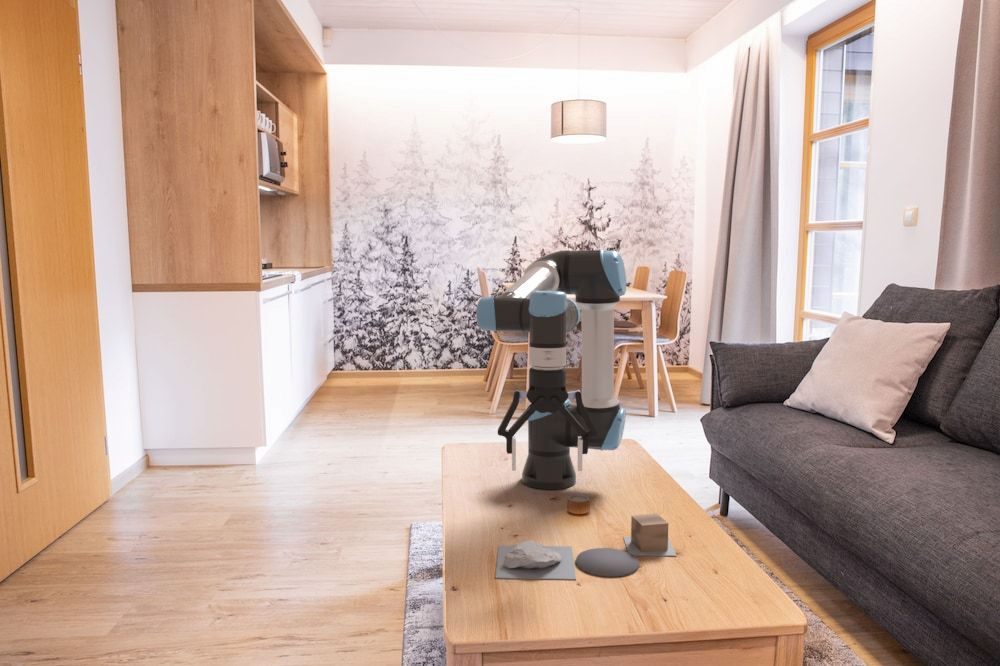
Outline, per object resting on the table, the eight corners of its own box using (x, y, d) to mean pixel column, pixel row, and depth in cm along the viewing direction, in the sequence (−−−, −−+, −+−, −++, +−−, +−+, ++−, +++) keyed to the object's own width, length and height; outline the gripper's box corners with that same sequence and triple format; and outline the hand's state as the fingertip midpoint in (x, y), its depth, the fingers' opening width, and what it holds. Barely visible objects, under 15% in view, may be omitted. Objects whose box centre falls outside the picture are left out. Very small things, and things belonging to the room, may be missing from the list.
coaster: (574, 550, 160) (574, 547, 160) (634, 551, 160) (634, 548, 160) (578, 576, 148) (578, 573, 147) (643, 577, 147) (643, 574, 147)
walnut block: (631, 541, 164) (631, 515, 164) (656, 539, 166) (656, 513, 165) (641, 552, 159) (642, 525, 158) (667, 549, 160) (668, 523, 159)
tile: (623, 537, 167) (623, 536, 167) (667, 538, 167) (667, 537, 167) (629, 555, 157) (629, 554, 157) (676, 556, 157) (676, 555, 157)
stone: (568, 555, 157) (568, 539, 157) (546, 577, 147) (546, 560, 146) (524, 547, 162) (524, 531, 161) (500, 567, 151) (500, 550, 151)
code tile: (498, 546, 163) (498, 545, 163) (571, 547, 162) (571, 546, 162) (495, 578, 147) (495, 577, 147) (576, 579, 146) (576, 578, 146)
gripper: (485, 369, 147) (485, 473, 149) (611, 370, 146) (609, 474, 148) (487, 364, 154) (487, 463, 156) (606, 364, 153) (605, 464, 156)
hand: (546, 469), depth 152 cm, fingers open, 13 cm apart
